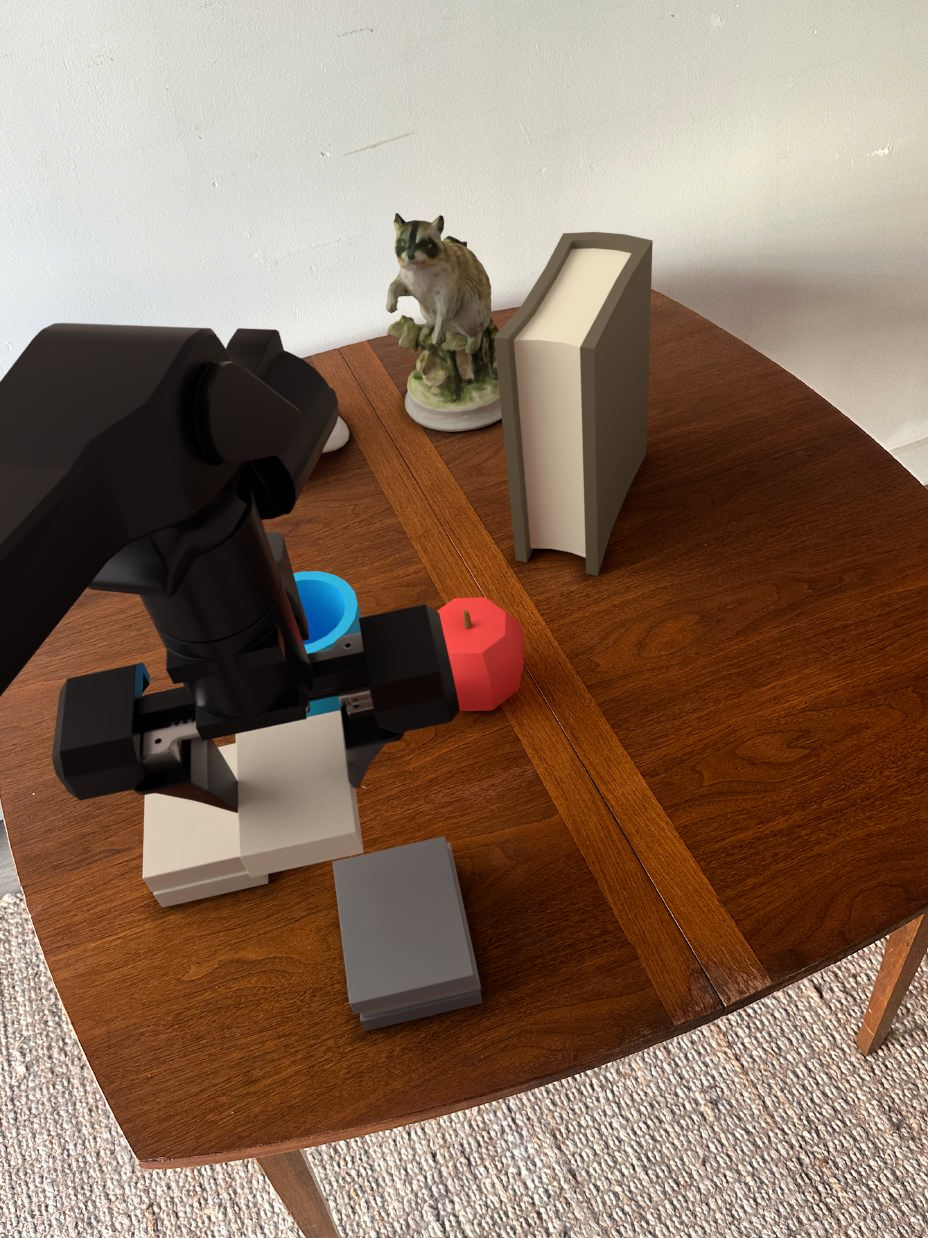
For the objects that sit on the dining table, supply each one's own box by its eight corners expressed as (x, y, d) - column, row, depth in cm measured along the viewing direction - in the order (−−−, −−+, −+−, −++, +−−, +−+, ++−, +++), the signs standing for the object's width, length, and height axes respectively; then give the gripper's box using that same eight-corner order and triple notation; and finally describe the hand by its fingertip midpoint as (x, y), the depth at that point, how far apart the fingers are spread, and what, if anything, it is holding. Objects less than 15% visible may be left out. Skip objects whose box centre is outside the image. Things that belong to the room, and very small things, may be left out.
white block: (363, 853, 53) (356, 831, 52) (250, 878, 53) (239, 857, 51) (348, 732, 59) (340, 709, 57) (245, 754, 58) (235, 732, 57)
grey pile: (485, 1006, 59) (477, 973, 56) (364, 1035, 59) (349, 1004, 56) (455, 865, 66) (447, 829, 62) (345, 891, 65) (331, 855, 62)
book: (573, 442, 94) (565, 223, 79) (647, 453, 92) (654, 230, 76) (515, 560, 84) (493, 337, 69) (597, 575, 82) (594, 348, 67)
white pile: (268, 883, 66) (254, 855, 64) (160, 908, 66) (141, 881, 63) (260, 769, 73) (247, 740, 70) (162, 791, 72) (145, 762, 70)
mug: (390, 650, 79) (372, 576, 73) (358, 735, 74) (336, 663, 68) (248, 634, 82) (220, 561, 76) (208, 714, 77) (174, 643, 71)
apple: (452, 633, 79) (439, 559, 74) (547, 660, 77) (542, 586, 71) (405, 709, 75) (388, 637, 69) (504, 741, 72) (494, 669, 66)
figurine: (385, 433, 98) (345, 236, 83) (430, 355, 106) (401, 163, 92) (500, 446, 95) (479, 243, 80) (537, 364, 103) (524, 167, 89)
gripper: (403, 439, 50) (442, 648, 61) (20, 515, 49) (133, 713, 60) (440, 599, 42) (477, 803, 53) (-12, 693, 41) (124, 880, 53)
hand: (298, 792), depth 55 cm, fingers closed on white block, 6 cm apart
